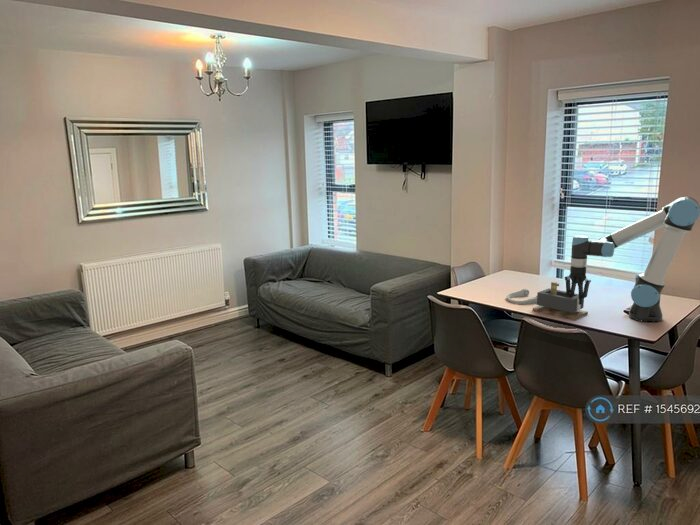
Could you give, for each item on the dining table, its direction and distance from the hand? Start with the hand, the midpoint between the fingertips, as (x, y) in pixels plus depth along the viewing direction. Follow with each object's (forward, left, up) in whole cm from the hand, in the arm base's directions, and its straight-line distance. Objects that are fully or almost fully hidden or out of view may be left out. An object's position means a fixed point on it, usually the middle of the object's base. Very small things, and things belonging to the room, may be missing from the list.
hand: (575, 309), depth 274 cm
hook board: (+9, 0, -4) cm, 9 cm away
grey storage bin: (+9, 0, 0) cm, 9 cm away
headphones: (+36, -8, -4) cm, 37 cm away
